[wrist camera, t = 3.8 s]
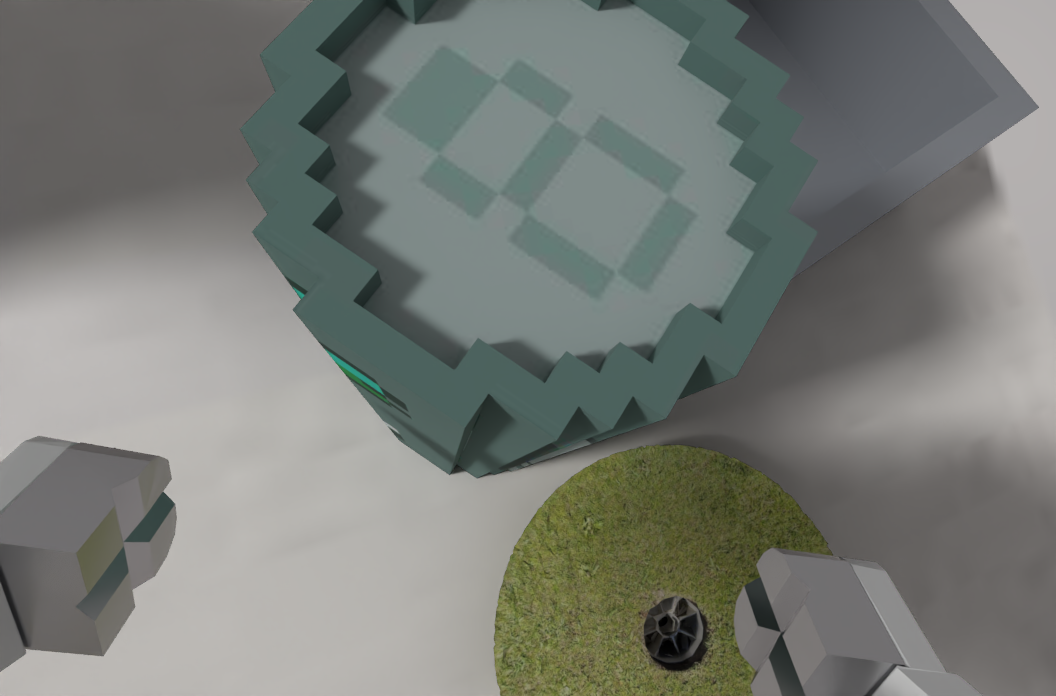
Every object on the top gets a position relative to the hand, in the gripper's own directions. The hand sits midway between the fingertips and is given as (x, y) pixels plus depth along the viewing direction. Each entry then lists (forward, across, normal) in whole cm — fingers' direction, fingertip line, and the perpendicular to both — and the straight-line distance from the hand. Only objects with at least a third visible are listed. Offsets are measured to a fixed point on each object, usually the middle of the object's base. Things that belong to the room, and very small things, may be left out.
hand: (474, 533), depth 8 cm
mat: (+7, -7, +10) cm, 15 cm away
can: (+12, 0, +6) cm, 13 cm away
